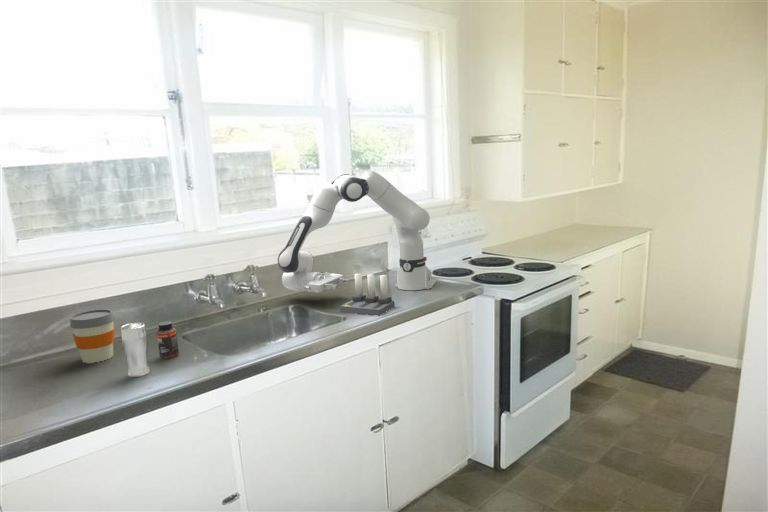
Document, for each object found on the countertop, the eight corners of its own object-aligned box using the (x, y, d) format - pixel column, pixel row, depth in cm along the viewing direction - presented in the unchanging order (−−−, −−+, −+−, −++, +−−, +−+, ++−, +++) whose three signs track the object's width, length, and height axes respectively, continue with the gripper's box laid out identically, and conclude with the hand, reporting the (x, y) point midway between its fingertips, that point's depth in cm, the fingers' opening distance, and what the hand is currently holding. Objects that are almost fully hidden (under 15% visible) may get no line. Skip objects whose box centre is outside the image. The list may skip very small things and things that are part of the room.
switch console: (357, 303, 225) (355, 272, 223) (394, 306, 217) (393, 274, 215) (340, 311, 213) (338, 279, 211) (379, 316, 205) (377, 282, 203)
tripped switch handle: (358, 297, 224) (356, 272, 222) (366, 298, 222) (365, 273, 220) (352, 300, 220) (350, 275, 218) (360, 301, 218) (359, 275, 216)
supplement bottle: (180, 351, 175) (177, 319, 173) (177, 358, 169) (172, 324, 167) (162, 353, 174) (158, 321, 172) (157, 360, 168) (153, 326, 166)
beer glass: (142, 378, 154) (135, 329, 151) (121, 377, 155) (114, 329, 152) (156, 369, 161) (150, 322, 158) (136, 368, 162) (129, 322, 159)
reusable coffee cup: (79, 355, 176) (72, 312, 173) (120, 348, 180) (114, 307, 178) (73, 368, 164) (65, 322, 162) (117, 361, 169) (110, 316, 166)
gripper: (300, 280, 220) (328, 282, 214) (326, 270, 238) (353, 272, 232) (301, 294, 221) (329, 297, 215) (327, 284, 239) (353, 286, 233)
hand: (342, 284), depth 223 cm, fingers open, 8 cm apart
